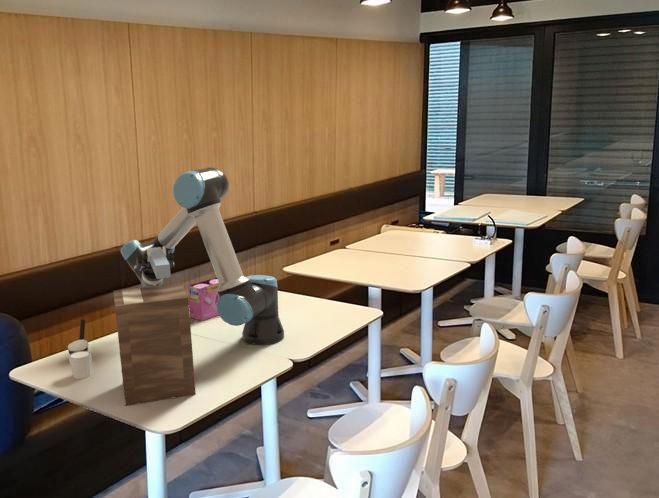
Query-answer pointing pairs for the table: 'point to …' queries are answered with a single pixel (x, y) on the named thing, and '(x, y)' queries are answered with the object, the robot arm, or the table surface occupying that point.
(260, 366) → the table surface
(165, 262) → the rod
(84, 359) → the shot glass
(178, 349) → the shelf
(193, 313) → the gum box
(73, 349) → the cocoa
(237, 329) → the table surface
